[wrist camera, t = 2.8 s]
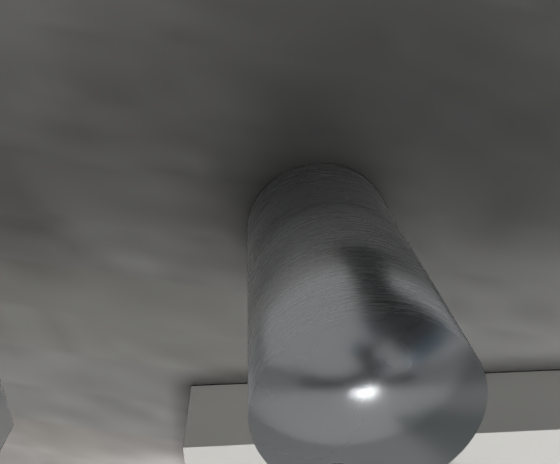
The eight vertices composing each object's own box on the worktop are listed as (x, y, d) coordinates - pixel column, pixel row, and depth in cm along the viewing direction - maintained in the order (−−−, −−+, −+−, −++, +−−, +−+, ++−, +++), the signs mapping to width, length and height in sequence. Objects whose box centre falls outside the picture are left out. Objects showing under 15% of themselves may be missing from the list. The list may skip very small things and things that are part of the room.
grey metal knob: (244, 164, 14) (244, 318, 8) (393, 161, 14) (508, 308, 8) (249, 292, 16) (251, 501, 10) (381, 287, 16) (467, 489, 10)
